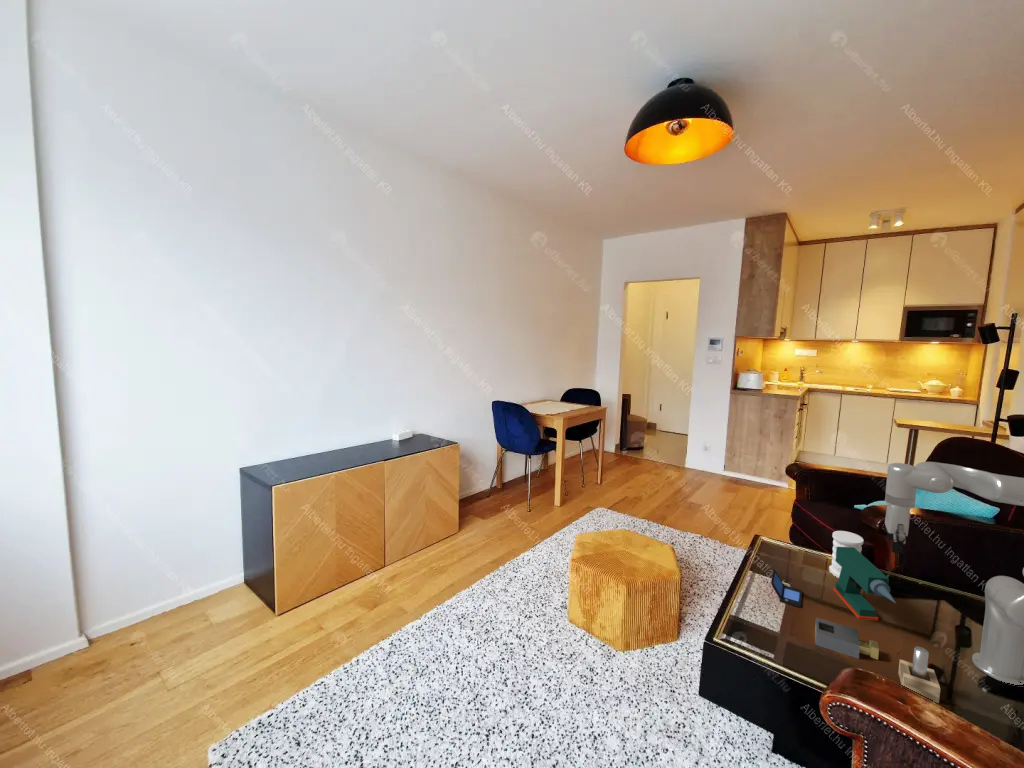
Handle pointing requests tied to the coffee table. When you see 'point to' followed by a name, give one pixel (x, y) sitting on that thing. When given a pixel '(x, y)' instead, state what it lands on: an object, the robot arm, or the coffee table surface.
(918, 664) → the grey peg
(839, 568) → the decorative container
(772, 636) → the coffee table surface
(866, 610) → the power tool
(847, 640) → the socket block
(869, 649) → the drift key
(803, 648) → the coffee table surface
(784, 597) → the handheld game console
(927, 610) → the coffee table surface
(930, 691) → the beige open box
